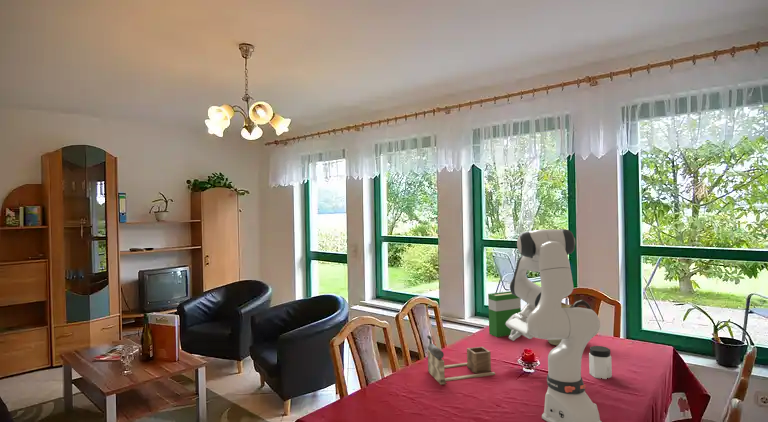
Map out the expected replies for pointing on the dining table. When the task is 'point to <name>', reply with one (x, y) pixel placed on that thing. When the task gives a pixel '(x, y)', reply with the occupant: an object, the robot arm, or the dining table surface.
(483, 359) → the crate
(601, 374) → the jar
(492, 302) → the green cereal box
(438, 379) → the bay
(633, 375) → the dining table surface
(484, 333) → the dining table surface
